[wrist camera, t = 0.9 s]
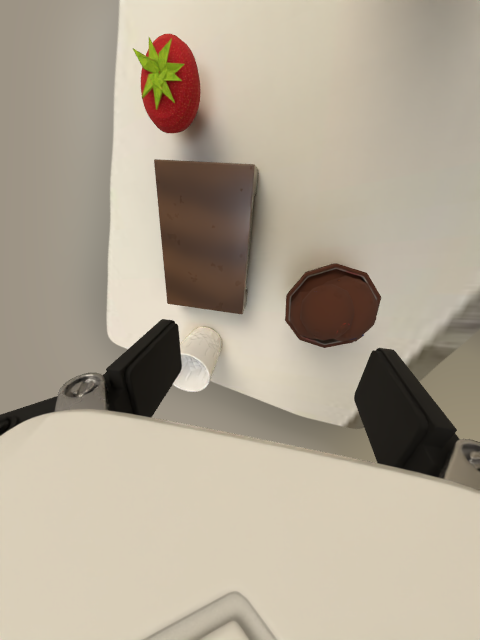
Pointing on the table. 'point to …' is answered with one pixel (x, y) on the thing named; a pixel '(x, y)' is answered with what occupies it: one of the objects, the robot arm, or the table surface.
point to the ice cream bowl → (332, 305)
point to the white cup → (198, 359)
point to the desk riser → (206, 231)
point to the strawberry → (169, 83)
